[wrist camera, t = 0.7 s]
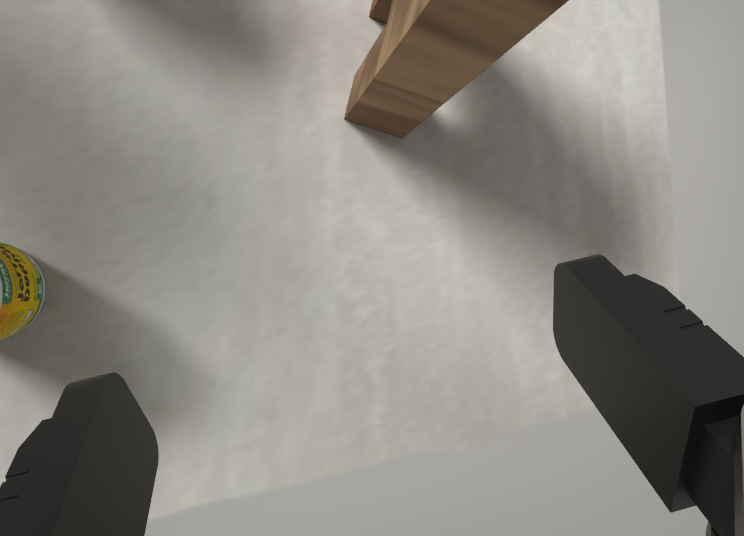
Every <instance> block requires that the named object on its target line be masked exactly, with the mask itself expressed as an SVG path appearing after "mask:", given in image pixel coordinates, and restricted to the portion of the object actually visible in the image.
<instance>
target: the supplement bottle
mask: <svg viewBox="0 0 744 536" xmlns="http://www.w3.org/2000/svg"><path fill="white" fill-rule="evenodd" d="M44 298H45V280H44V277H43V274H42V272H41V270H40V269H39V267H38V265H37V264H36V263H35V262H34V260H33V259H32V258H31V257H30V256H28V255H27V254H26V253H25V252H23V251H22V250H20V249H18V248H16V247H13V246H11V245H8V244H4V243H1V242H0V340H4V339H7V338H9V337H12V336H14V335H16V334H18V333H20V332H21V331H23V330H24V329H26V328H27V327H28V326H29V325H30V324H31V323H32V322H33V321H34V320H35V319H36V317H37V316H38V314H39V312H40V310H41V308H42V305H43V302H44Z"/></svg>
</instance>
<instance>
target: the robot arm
mask: <svg viewBox="0 0 744 536" xmlns="http://www.w3.org/2000/svg"><path fill="white" fill-rule="evenodd" d="M553 332H554V338H555V342H556V345H557V348H558V351H559V353H560V355H561V357H562V359H563V361H564V362H565V364H566V365H567V366H568V368H569V369H570V371H571V372H572V373H573V375H574V376H575V378H576V379H577V381H578V382H579V383H580V385H581V386H582V388H583V389H584V391H585V392H586V393H587V395H588V396H589V398H590V399H591V400H592V402H593V403H594V405H595V406H596V408H597V409H598V410H599V412H600V413H601V414H602V416H603V417H604V419H605V420H606V422H607V423H608V424H609V426H610V427H611V429H612V430H613V432H614V433H615V434H616V436H617V437H618V439H619V440H620V442H621V443H622V444H623V446H624V447H625V449H626V450H627V451H628V453H629V454H630V456H631V457H632V459H633V460H634V461H635V463H636V464H637V465H638V467H639V468H640V470H641V471H642V473H643V474H644V476H645V477H646V478H647V480H648V481H649V483H650V484H651V485H652V487H653V488H654V490H655V491H656V493H657V494H658V495H659V497H660V498H661V499H662V501H663V502H664V504H665V505H666V507H667V508H668V510H669V511H670V512H675V511H678V510H682V509H685V508H689V507H692V506H696V505H697V507H698V508H699V509H700V511H701V512H702V513H703V514H704V516H705V517H706V519H707V520H708V524H707V528H706V536H744V357H743V356H742V355H740V354H739V353H738V352H737V351H736V350H735V349H734V348H733V347H731V346H730V345H729V344H728V343H727V342H726V341H724V340H723V339H722V338H721V337H720V336H719V335H718V334H717V333H716V332H714V331H713V330H712V329H711V328H710V327H709V326H708V325H706V326H704V325H703V321H702V320H700V319H699V317H697V316H696V315H695V314H694V313H693V312H692V311H691V310H689V309H688V310H686V308H685V305H684V304H683V303H682V302H680V301H679V300H678V299H677V298H676V297H675V296H674V295H672V294H671V293H670V292H669V291H668V290H667V289H666V288H665V287H663V286H661V285H659V284H656V283H654V282H652V281H650V280H648V279H645V278H643V277H641V276H639V275H637V274H632V275H628V276H624V275H623V274H622V273H621V272H620V271H619V270H618V269H617V268H616V267H615V266H613V265H612V264H611V263H610V262H609V261H608V260H607V259H606V258H605V257H604V256H602V255H599V254H597V255H592V256H588V257H584V258H580V259H576V260H572V261H568V262H564V263H560V264H558V265H557V266H556V268H555V271H554V307H553ZM157 466H158V445H157V440H156V436H155V433H154V431H153V429H152V427H151V425H150V423H149V422H148V420H147V418H146V417H145V415H144V413H143V412H142V410H141V408H140V406H139V405H138V403H137V401H136V400H135V398H134V396H133V395H132V393H131V391H130V389H129V388H128V386H127V384H126V383H125V381H124V380H123V378H122V377H121V376H120V375H119V374H117V373H109V374H105V375H101V376H97V377H93V378H89V379H85V380H81V381H77V382H73V383H70V384H68V385H67V386H66V387H65V389H64V391H63V393H62V395H61V398H60V400H59V402H58V405H57V407H56V409H55V412H54V414H53V417H52V418H50V419H46V420H42V421H41V423H40V424H39V425H38V426H37V427H36V428H35V430H34V431H33V432H32V433H31V434H30V435H29V437H28V438H27V439H26V440H25V441H24V442H23V444H22V445H21V446H20V447H19V448H18V451H17V453H16V455H15V457H14V459H13V461H12V463H11V466H10V468H9V470H8V472H7V474H6V476H5V477H6V482H3V483H2V485H1V487H0V536H144V534H145V529H146V524H147V518H148V513H149V508H150V503H151V498H152V492H153V487H154V482H155V477H156V471H157Z"/></svg>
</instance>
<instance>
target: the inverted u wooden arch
mask: <svg viewBox="0 0 744 536" xmlns="http://www.w3.org/2000/svg"><path fill="white" fill-rule="evenodd" d="M567 1H568V0H373V2H372V6H371V10H370V15H369V17H371V18H374V19H376V20H379V21H382V22H384V23H387V24H386V26H385V27H384V29H383V30H382V32H381V34H380V35H379V37H378V38H377V40H376V42H375V43H374V45H373V47H372V48H371V50H370V51H369V53H368V55H367V56H366V58H365V59H364V61H363V63H362V64H361V66H360V67H359V69H358V71H357V72H356V74H355V77H354V81H353V85H352V89H351V93H350V97H349V101H348V105H347V110H346V114H345V118H344V119H346V120H349V121H352V122H355V123H358V124H361V125H364V126H367V127H370V128H373V129H377V130H380V131H383V132H386V133H389V134H392V135H395V136H398V137H401V138H403V137H404V136H406V135H407V134H408V133H409V132H410V131H412V130H413V129H414V128H415V127H416V126H418V125H419V124H420V123H421V122H422V121H424V120H425V119H426V118H427V117H428V116H430V115H431V114H432V113H433V112H434V111H436V110H437V109H438V108H439V107H441V106H442V105H443V104H444V103H445V102H447V101H448V100H449V99H450V98H451V97H453V96H454V95H455V94H456V93H457V92H459V91H460V90H461V89H462V88H463V87H465V86H466V85H467V84H468V83H469V82H471V81H472V80H473V79H474V78H476V77H477V76H478V75H479V74H480V73H482V72H483V71H484V70H485V69H486V68H488V67H489V66H490V65H491V64H492V63H494V62H495V61H496V60H497V59H498V58H500V57H501V56H502V55H503V54H504V53H506V52H507V51H508V50H509V49H511V48H512V47H513V46H514V45H515V44H517V43H518V42H519V41H520V40H521V39H523V38H524V37H525V36H526V35H527V34H529V33H530V32H531V31H532V30H533V29H535V28H536V27H537V26H538V25H539V24H541V23H542V22H543V21H544V20H546V19H547V18H548V17H549V16H550V15H552V14H553V13H554V12H555V11H556V10H558V9H559V8H560V7H561V6H562V5H564V4H565V3H566V2H567Z"/></svg>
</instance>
